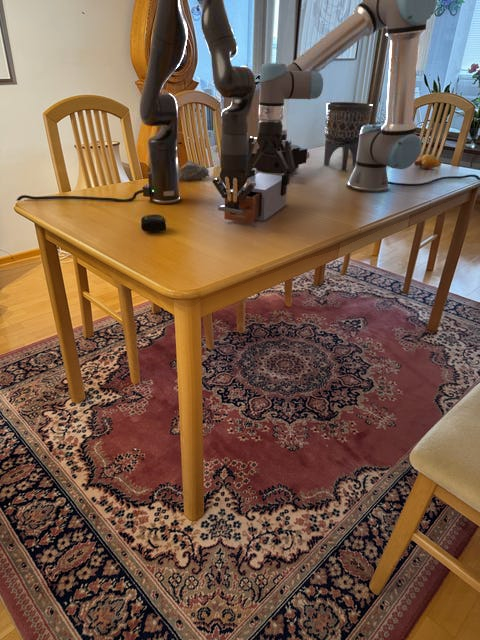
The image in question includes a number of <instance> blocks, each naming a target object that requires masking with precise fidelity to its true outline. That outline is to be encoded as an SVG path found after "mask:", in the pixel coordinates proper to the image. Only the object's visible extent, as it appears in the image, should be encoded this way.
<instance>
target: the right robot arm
mask: <svg viewBox="0 0 480 640" xmlns="http://www.w3.org/2000/svg"><path fill="white" fill-rule="evenodd" d="M437 1H438V0H363V1H361V2H360V3H359V4H357V5H356V6H355V7H354V8H353V11H352V14H351V15H349V16H348V17H347V18H345V19H344V21H342V22H341V23H339V24H338V25H337V26H336V27H334V28H333V29H332V30H331V31H330V32H328V33H327V34H326V35H324V37H322V38H321V39H319V40H318V41H317V42H316V43H314V44H313V45H312V46H311V47H310V48H309V49H307V50H306V51H305V52H303V53H302V54H301V55H299V56H298V57H297V58H296V59H295V60H293V62H291V63H290V64H288V65H287V64H286V63H280V62H279V63H278V62H277V63H274V62H272V63H271V62H264V63H263V64H262V65H261V67H260V75H259V102H258V103H259V104H258V119H259V121H258V124H257V125H258V126H257V134H258V135H257V137H255V136H250V137H248V147H249V151H248V164H249V165H248V171H247V172H248V175H249V177H252V176H254V175H256V169H254V168H253V167H254V166H255V164H256V162H257V161H258V159H259V158H260V156H261V155H262V153H263V152H269V153H274V155H275V156H276V157H277V159H278V161H279V164H280V166H281V168H282V170H283V172H284V174H283V175H282V183H281V196H283V195H285V194H286V185H287V186H288V185H290V177H291V175H293V174H294V173H295V172H296V168H295V164H294V159H293V155H292V150H291V145H292V144H293V143H292V140H291V139H288V140H287V139H286V140H283V139H282V128H284V126H283V125H284V122H283V120H284V109H285V100H316V99H318V98H319V97H321V95H322V93H323V90H324V78H323V75H322V74H321V71H322V70H324V69H325V68H326V67H328V66H329V65H330V64H331V63H333V61H335V60H337V58H338V57H340V56H341V55H343V54H344V53H345V52H346V51H348V50H349V49H350V48H351V47H353V46H354V45H355V44H356V43H358V42H359V41H360V40H362V39H363V38H364V37H371V36H372V35H373V34H374V33H376V32H377V31H379V30H382V29H385V36H386V37H387V39H388V40H389V41H390V45H389V46H390V47H389V61H388V63H389V64H388V76H387V77H388V79H387V95H386V110H385V112H386V113H385V122H384V123H383V124H369V125H364V126H362V128H361V131H360V135H359V144H358V151H357V158H356V165H355V166H354V167H353V171H351V174H350V176H349V179H348V182H347V187H348V188H349V189H351V190H354V191H358V192H363V193H364V192H365V193H382V192H386V191H388V189H389V185H391V186H400V187H420V186H421V187H423V186H426V185H430V184H433V183H435V182H439V181H441V180H450V179H452V180H453V179H458V180H459V179H466V178H476V179H477V180H478V181H480V176H479V175H477V174H465V175H450V176H441V177H437V178H434V179H432V180H429V181H425V182H419V183H406V182H405V183H403V182H393V181H389V178H388V173H387V172H388V171H387V167H389V168H391V169H396V170H405V169H408V168H409V167H411V166H412V165H414V162H415V161H416V160H417V159H418V157H419V156H421V153H422V149H423V143H422V140H421V139H420V137H419V136H418V135H417V127H418V125H417V124H416V123H415V122H414V120H413V119H414V107H415V98H416V97H415V96H416V85H417V75H418V74H417V72H418V64H419V63H418V62H419V53H420V51H419V50H420V41H421V40H420V39H421V37H422V36H423V34H424V33H425V32H426V30H427V22H429V20H430V19H431V18H432V16H433V15H434V14H435V12H436V9H437V3H438V2H437ZM256 144H258V147H259V148H258V147H257V148H258V150H257V149H256V151H257V152H256V151H255V152H256V154H255V155H254V157H253V159H252V160H251V162H250V163H249V161H250V158H251V155H252V152H254V149H255V147H256V146H255V145H256ZM282 144H283V147H284V148H285V153H286V157H287V162H288V165H287V163H286V161H285V159H284V157H283V155H282V151H281V149H280V146H281V145H282ZM288 166H289V167H288ZM290 174H291V175H290Z"/></svg>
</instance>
